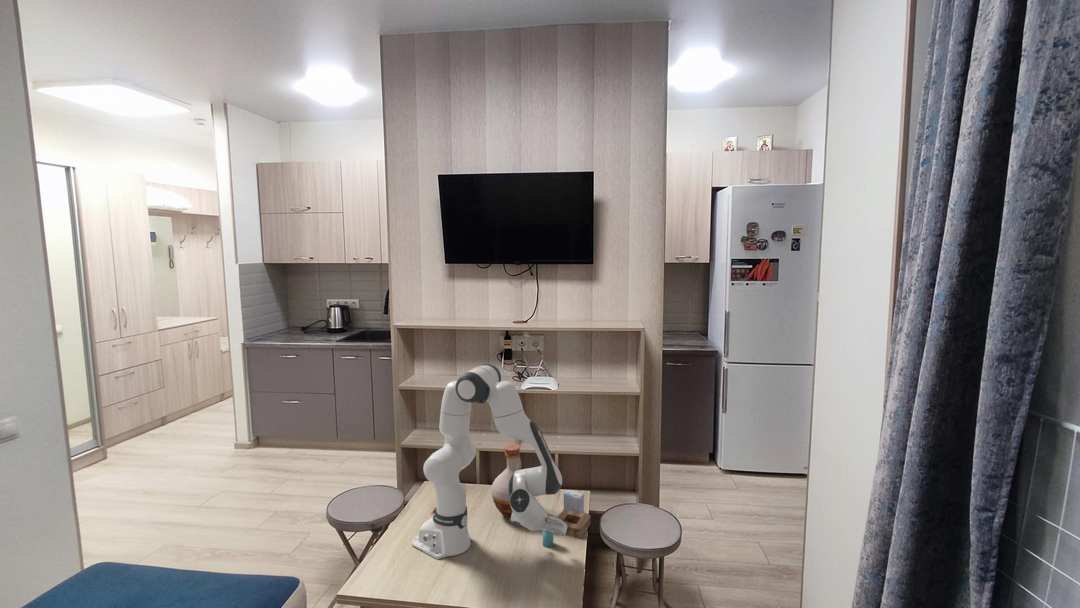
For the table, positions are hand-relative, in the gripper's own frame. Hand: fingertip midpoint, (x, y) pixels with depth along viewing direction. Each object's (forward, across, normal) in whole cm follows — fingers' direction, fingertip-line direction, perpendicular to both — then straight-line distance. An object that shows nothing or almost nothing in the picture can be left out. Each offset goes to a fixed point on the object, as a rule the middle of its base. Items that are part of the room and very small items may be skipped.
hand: (545, 529), depth 176 cm
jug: (+18, +23, -7) cm, 30 cm away
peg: (+8, 0, +3) cm, 8 cm away
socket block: (+18, -4, -7) cm, 20 cm away
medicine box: (+26, 0, -15) cm, 30 cm away
